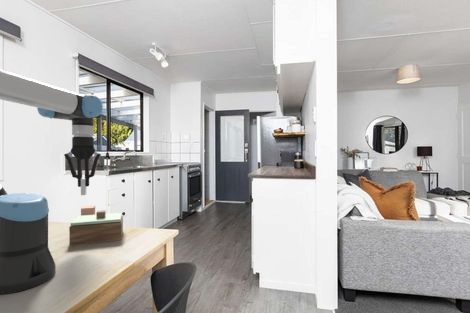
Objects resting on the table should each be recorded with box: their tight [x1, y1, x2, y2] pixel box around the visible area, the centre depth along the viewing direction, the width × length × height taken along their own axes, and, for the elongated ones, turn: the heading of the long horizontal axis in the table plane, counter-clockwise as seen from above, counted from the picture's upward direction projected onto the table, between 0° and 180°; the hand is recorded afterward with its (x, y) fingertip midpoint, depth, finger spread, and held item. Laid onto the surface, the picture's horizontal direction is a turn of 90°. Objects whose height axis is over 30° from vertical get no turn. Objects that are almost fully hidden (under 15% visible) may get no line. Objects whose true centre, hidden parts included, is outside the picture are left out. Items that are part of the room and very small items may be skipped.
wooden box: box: [68, 214, 124, 246], centre depth 105 cm, size 12×18×7 cm, turn 111°
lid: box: [70, 209, 123, 226], centre depth 105 cm, size 11×17×4 cm, turn 111°
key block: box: [80, 205, 96, 216], centre depth 117 cm, size 5×5×10 cm
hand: (83, 194), depth 103 cm, fingers closed
